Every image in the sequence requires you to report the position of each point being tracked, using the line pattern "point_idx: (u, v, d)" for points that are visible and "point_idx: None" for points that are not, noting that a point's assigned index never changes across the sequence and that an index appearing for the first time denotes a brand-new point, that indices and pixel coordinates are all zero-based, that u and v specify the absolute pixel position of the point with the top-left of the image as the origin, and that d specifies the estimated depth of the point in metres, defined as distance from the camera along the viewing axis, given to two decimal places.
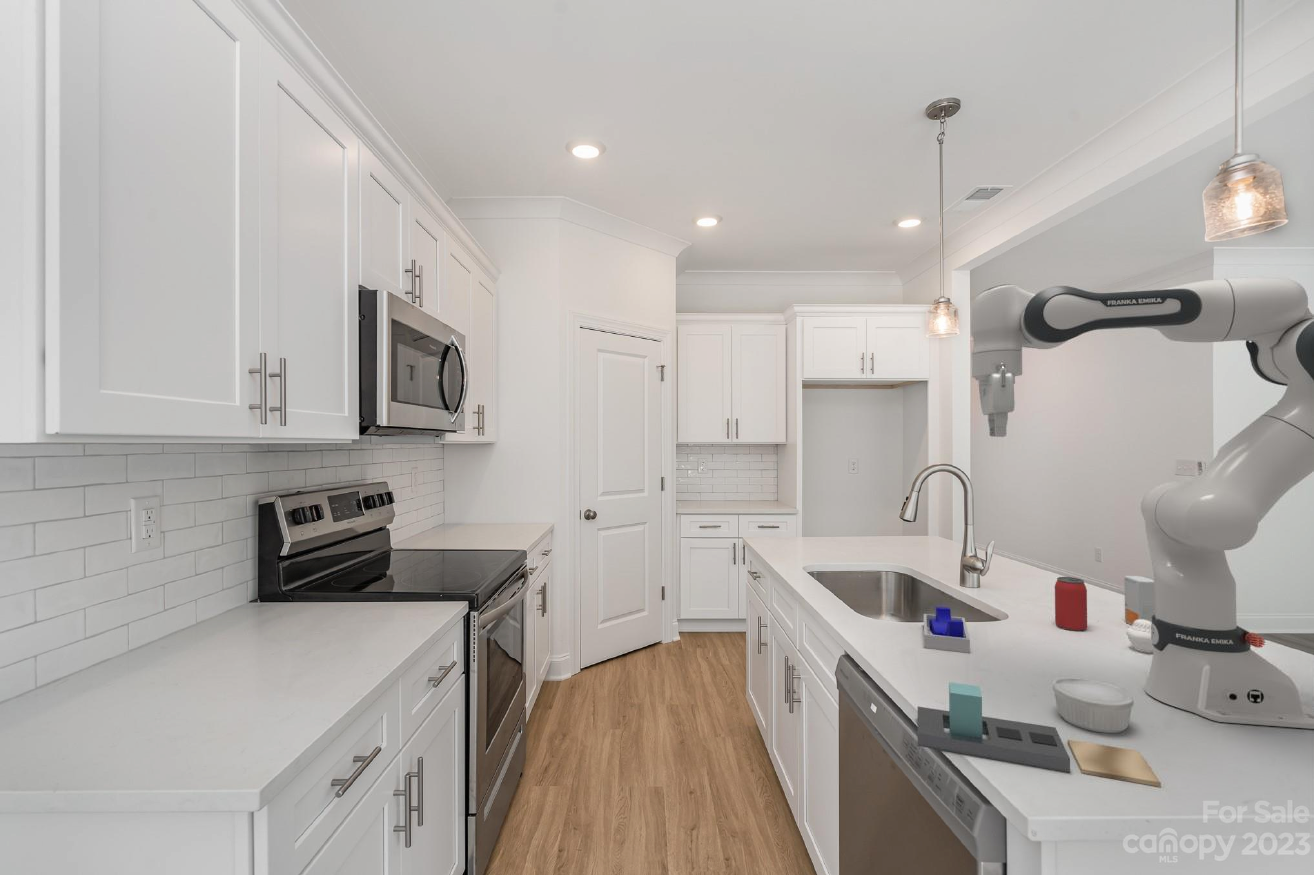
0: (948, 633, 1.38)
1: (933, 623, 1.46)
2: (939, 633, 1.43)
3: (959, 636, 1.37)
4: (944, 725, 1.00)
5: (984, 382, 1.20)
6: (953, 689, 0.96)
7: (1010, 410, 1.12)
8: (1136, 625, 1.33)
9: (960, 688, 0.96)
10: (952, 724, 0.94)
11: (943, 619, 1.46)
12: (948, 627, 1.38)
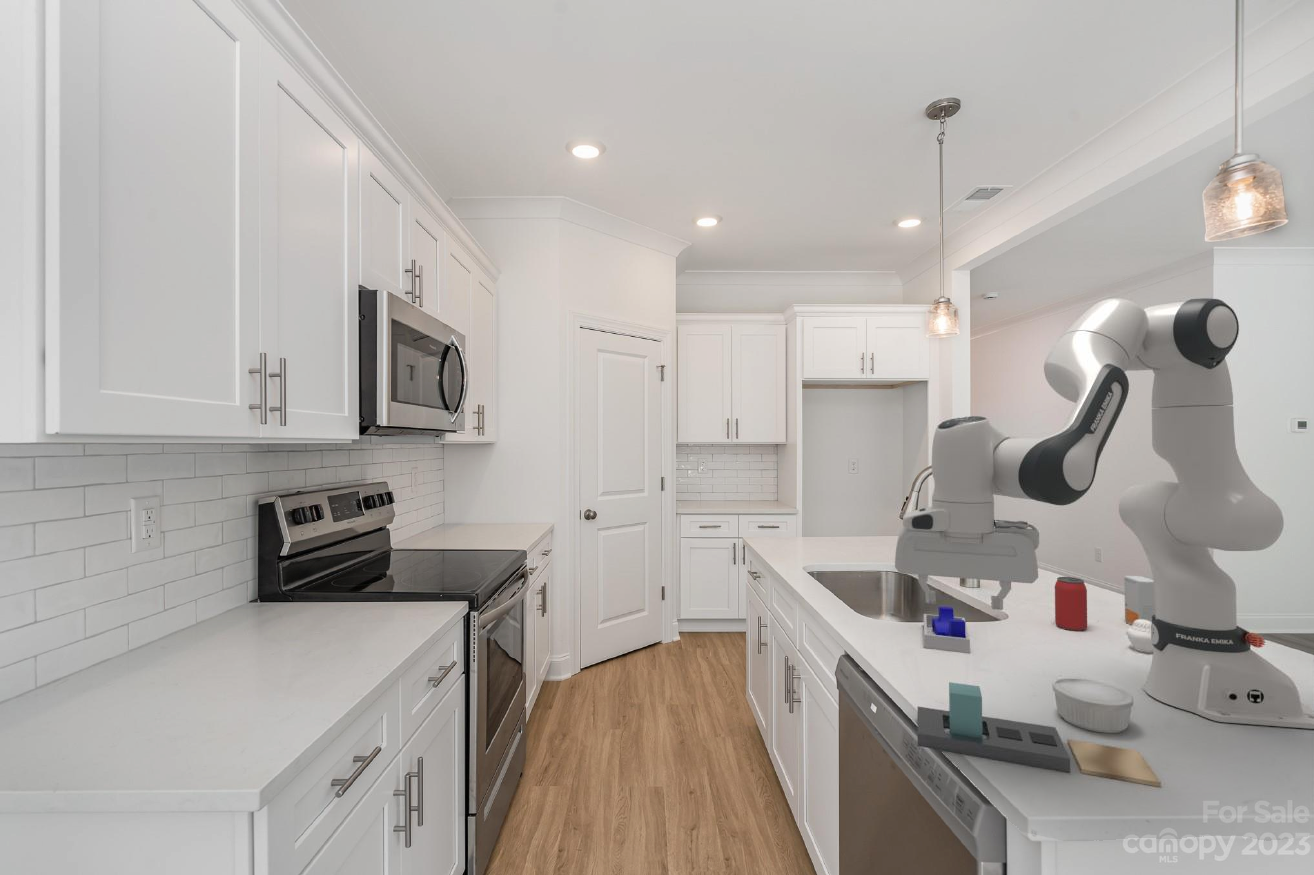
0: (950, 633, 1.38)
1: (935, 623, 1.46)
2: (941, 633, 1.43)
3: (961, 636, 1.37)
4: (944, 725, 1.00)
5: (978, 540, 0.93)
6: (953, 689, 0.96)
7: None
8: (1136, 625, 1.33)
9: (960, 688, 0.96)
10: (952, 724, 0.94)
11: (946, 619, 1.46)
12: (950, 627, 1.38)
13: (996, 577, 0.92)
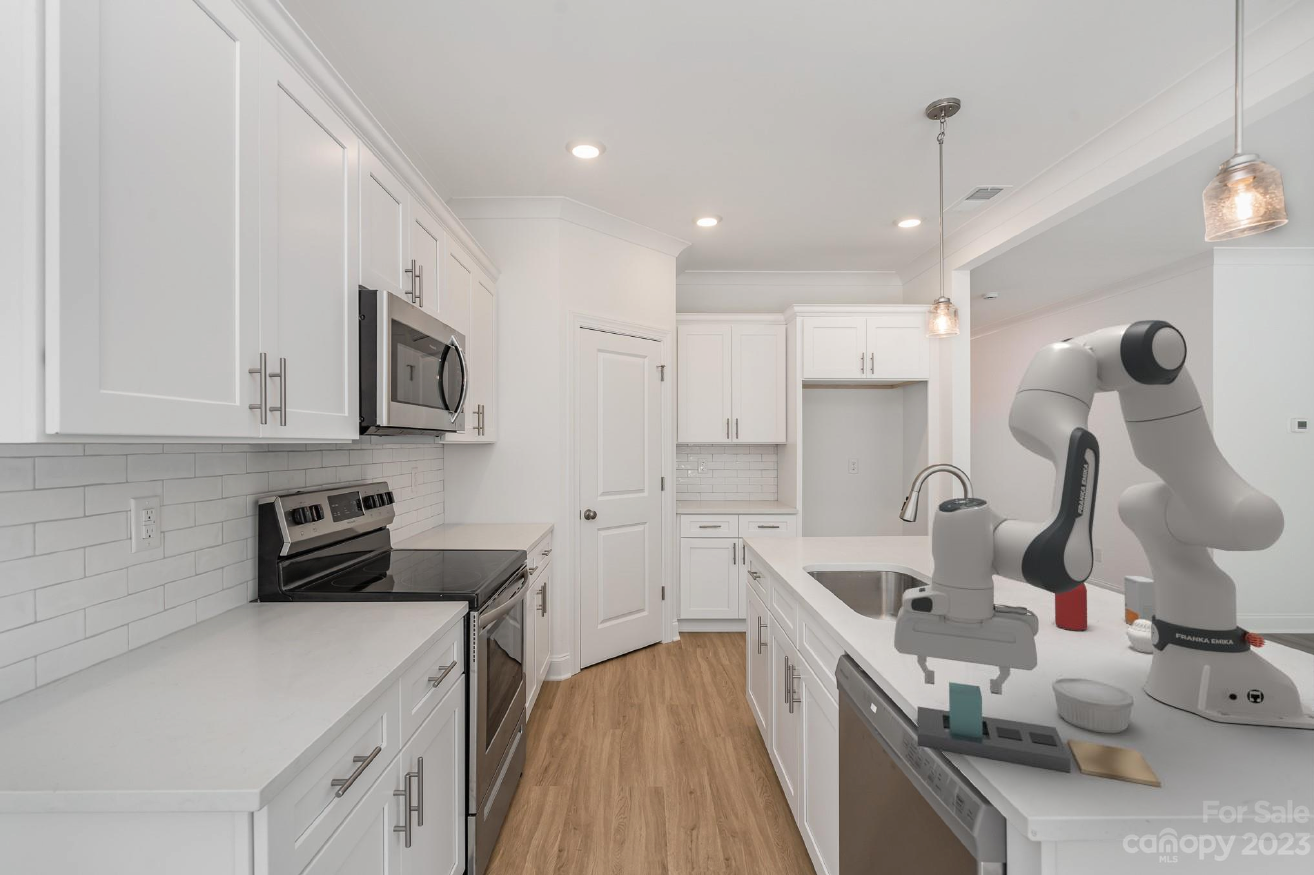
0: None
1: None
2: None
3: None
4: (944, 725, 1.00)
5: (978, 625, 0.93)
6: (953, 689, 0.96)
7: None
8: (1136, 625, 1.33)
9: (960, 688, 0.96)
10: (952, 724, 0.94)
11: None
12: None
13: (995, 662, 0.92)
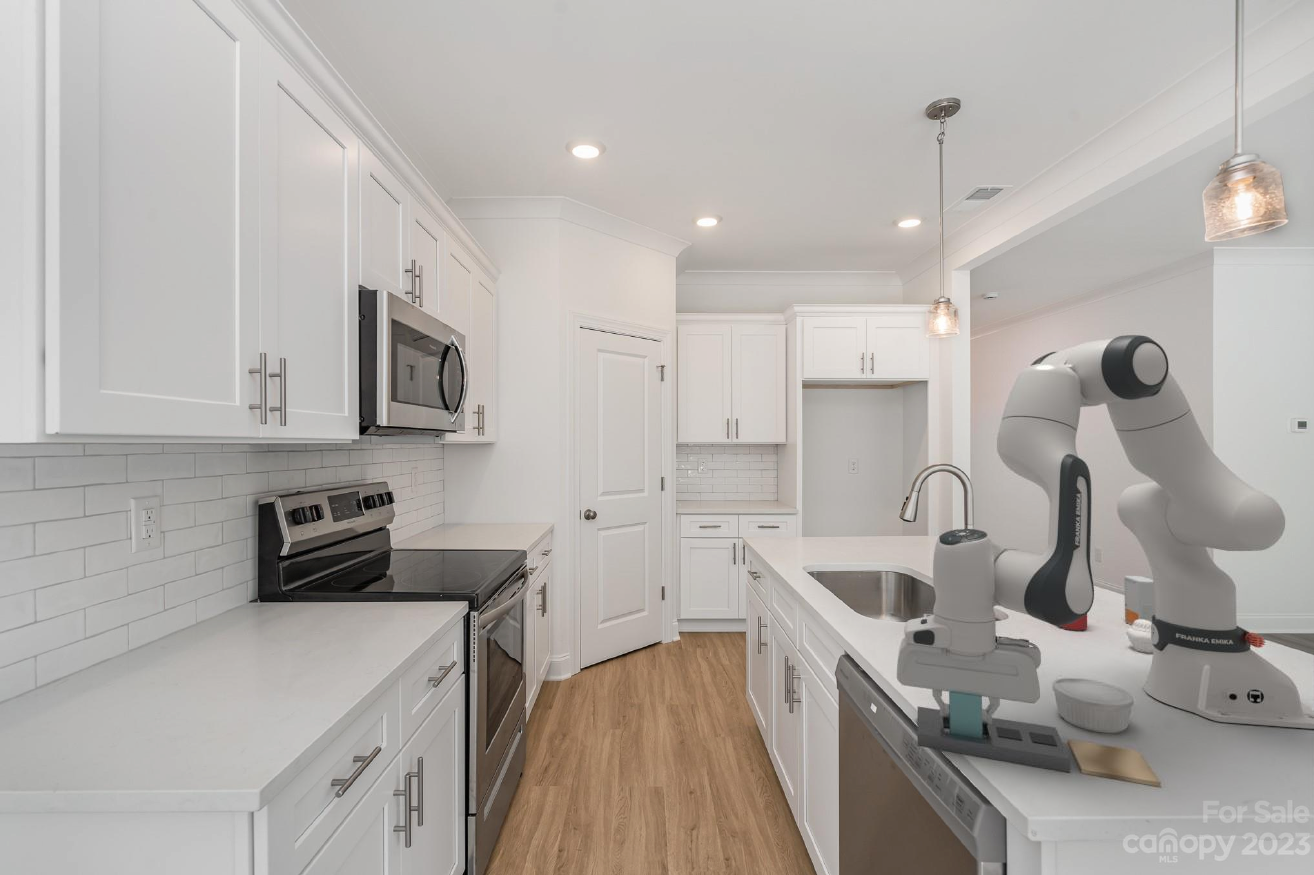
0: None
1: None
2: None
3: None
4: (944, 725, 1.00)
5: (980, 658, 0.93)
6: None
7: None
8: (1136, 625, 1.33)
9: None
10: (952, 724, 0.94)
11: None
12: None
13: (998, 695, 0.92)
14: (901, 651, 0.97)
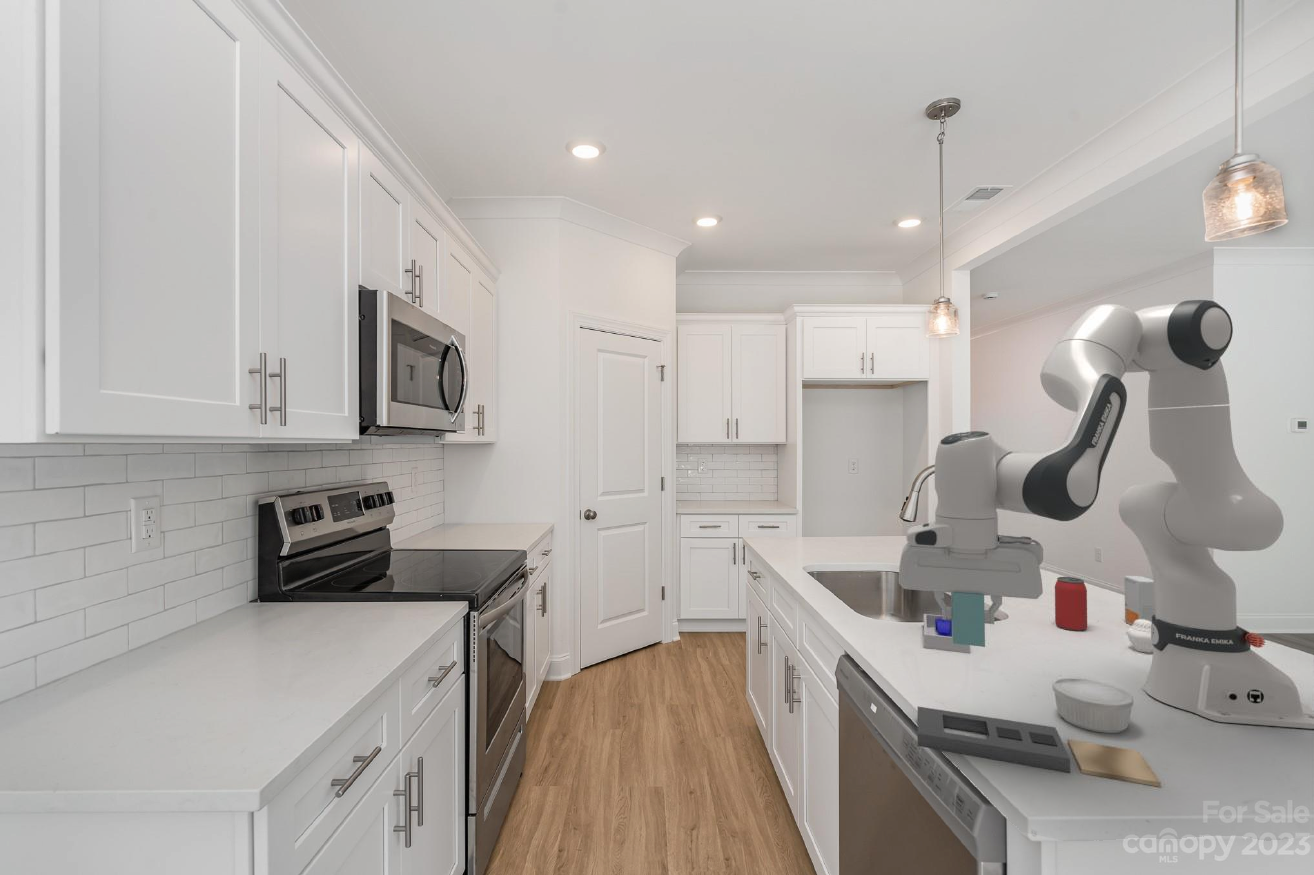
0: (950, 633, 1.38)
1: (938, 623, 1.46)
2: (943, 633, 1.43)
3: None
4: (944, 725, 1.00)
5: (982, 556, 0.93)
6: None
7: None
8: (1136, 625, 1.33)
9: None
10: (954, 624, 0.94)
11: None
12: (950, 627, 1.38)
13: (1000, 593, 0.92)
14: (903, 554, 0.97)
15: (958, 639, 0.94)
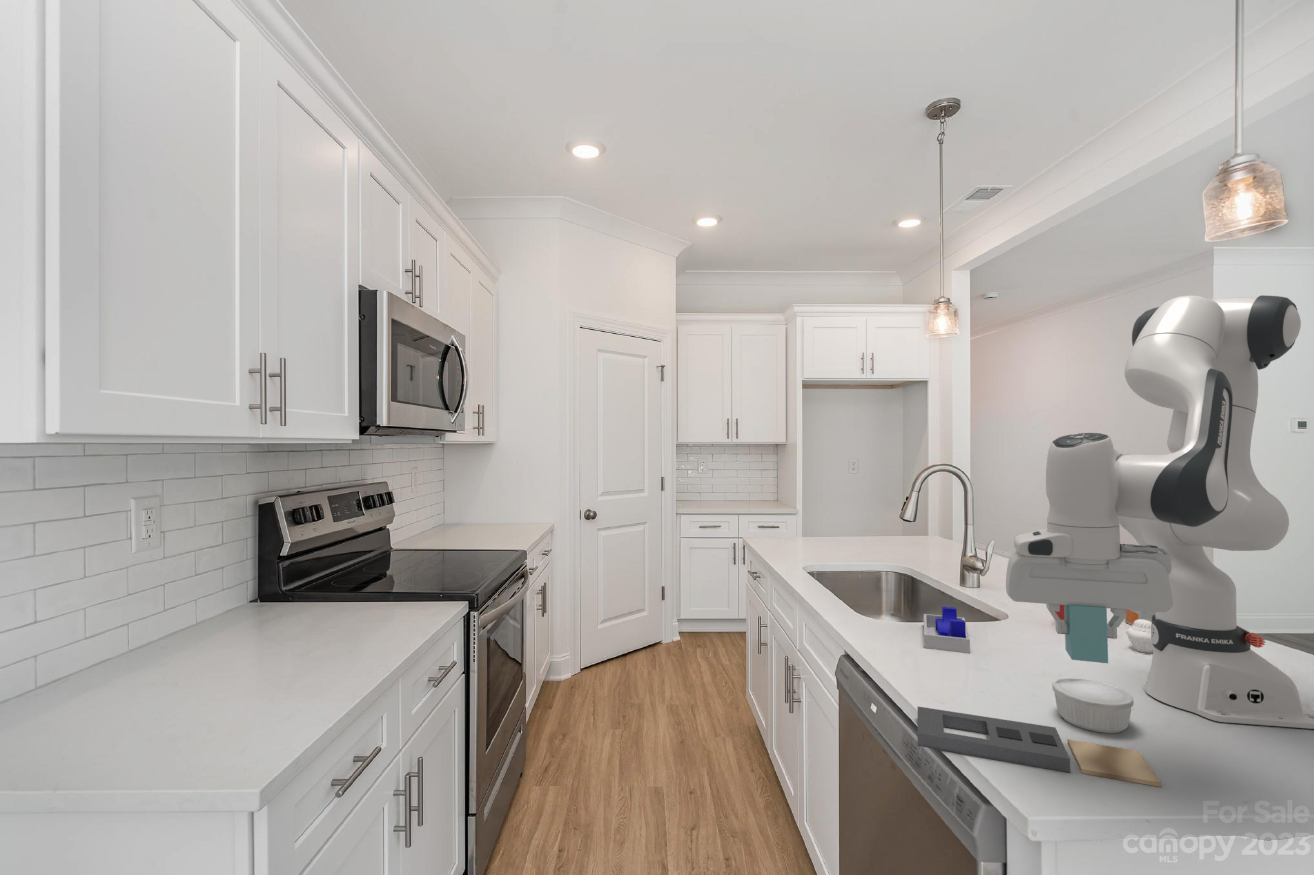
0: (950, 633, 1.38)
1: (938, 623, 1.46)
2: (943, 633, 1.43)
3: (961, 636, 1.37)
4: (944, 725, 1.00)
5: (1104, 566, 0.87)
6: None
7: None
8: (1136, 625, 1.33)
9: None
10: (1073, 639, 0.88)
11: (949, 619, 1.46)
12: (950, 627, 1.38)
13: (1125, 606, 0.86)
14: (1014, 565, 0.91)
15: (1077, 655, 0.88)
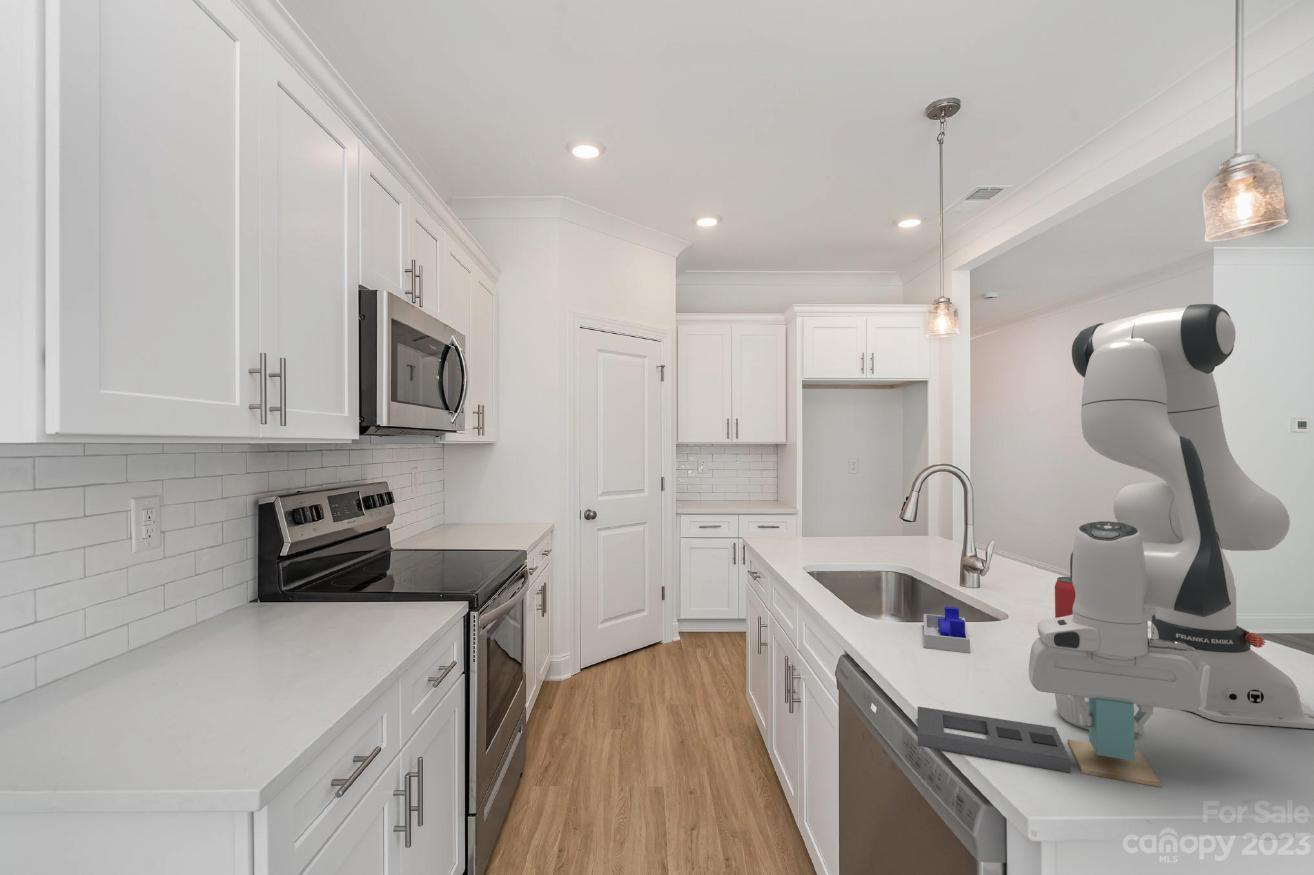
0: (950, 632, 1.38)
1: (940, 623, 1.47)
2: (944, 632, 1.44)
3: (961, 636, 1.37)
4: (944, 725, 1.00)
5: (1132, 662, 0.85)
6: None
7: None
8: None
9: None
10: (1098, 734, 0.87)
11: (951, 619, 1.46)
12: (950, 626, 1.38)
13: (1152, 703, 0.85)
14: (1038, 654, 0.90)
15: (1103, 750, 0.87)
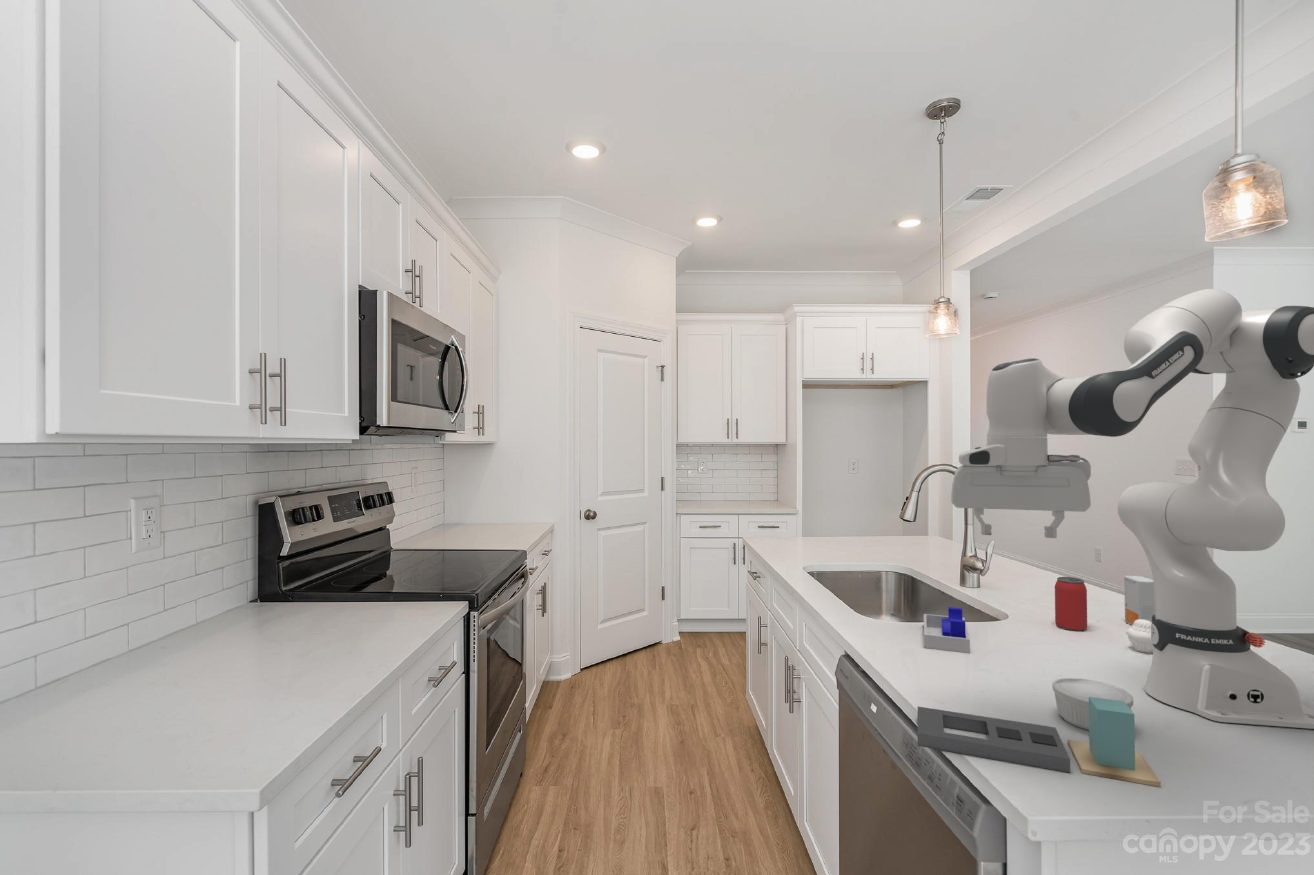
0: (950, 632, 1.38)
1: (943, 623, 1.47)
2: (946, 632, 1.43)
3: (961, 636, 1.37)
4: (944, 725, 1.00)
5: (1033, 473, 0.99)
6: (1098, 705, 0.88)
7: None
8: (1136, 625, 1.33)
9: (1105, 704, 0.88)
10: (1099, 743, 0.87)
11: None
12: (950, 626, 1.38)
13: (1050, 507, 0.99)
14: (957, 474, 1.04)
15: (1103, 760, 0.87)
